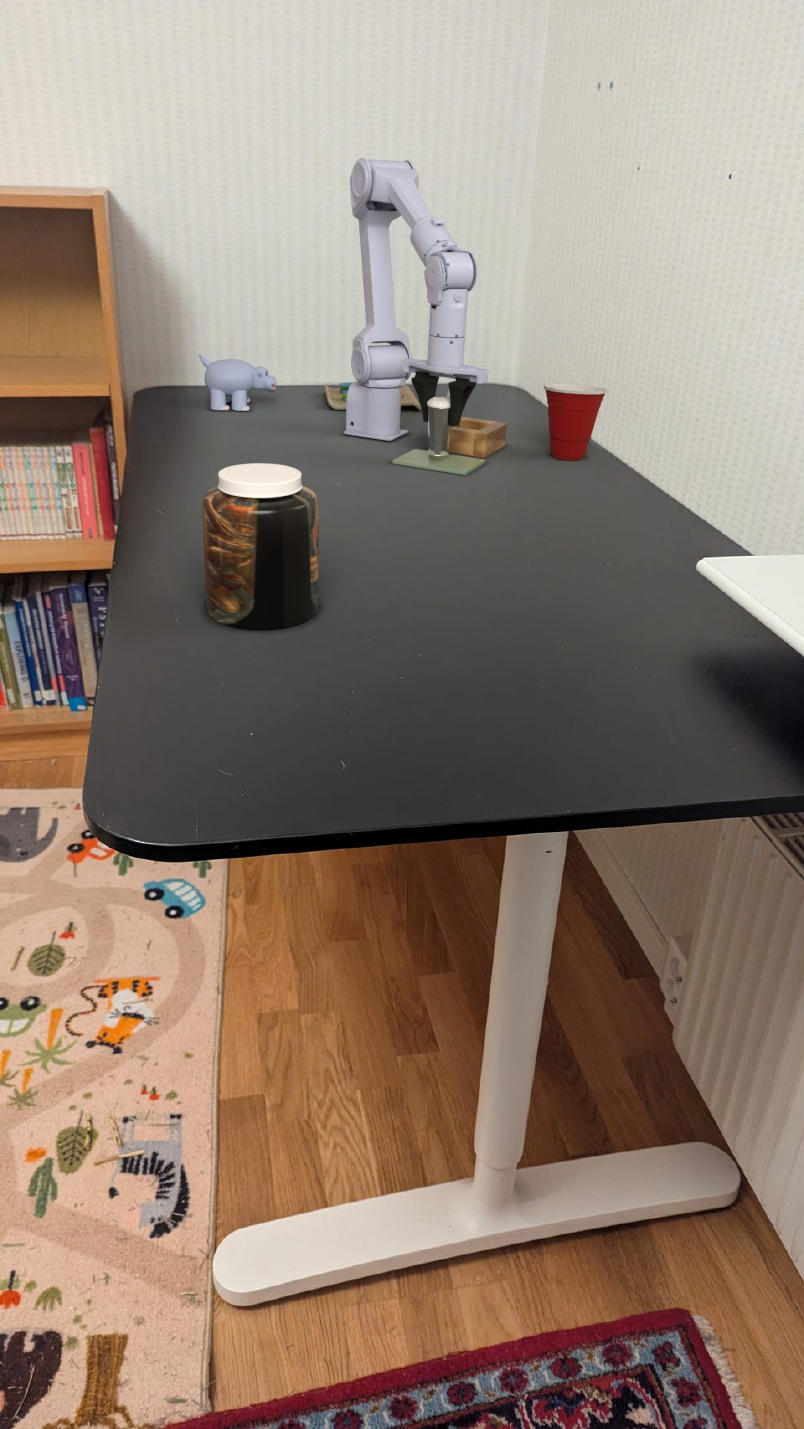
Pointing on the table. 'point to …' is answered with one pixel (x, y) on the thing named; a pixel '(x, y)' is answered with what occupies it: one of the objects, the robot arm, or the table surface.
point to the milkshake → (439, 425)
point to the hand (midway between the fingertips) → (441, 423)
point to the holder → (477, 437)
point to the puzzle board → (339, 396)
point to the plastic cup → (572, 418)
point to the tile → (439, 462)
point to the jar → (261, 547)
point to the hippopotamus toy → (234, 382)
